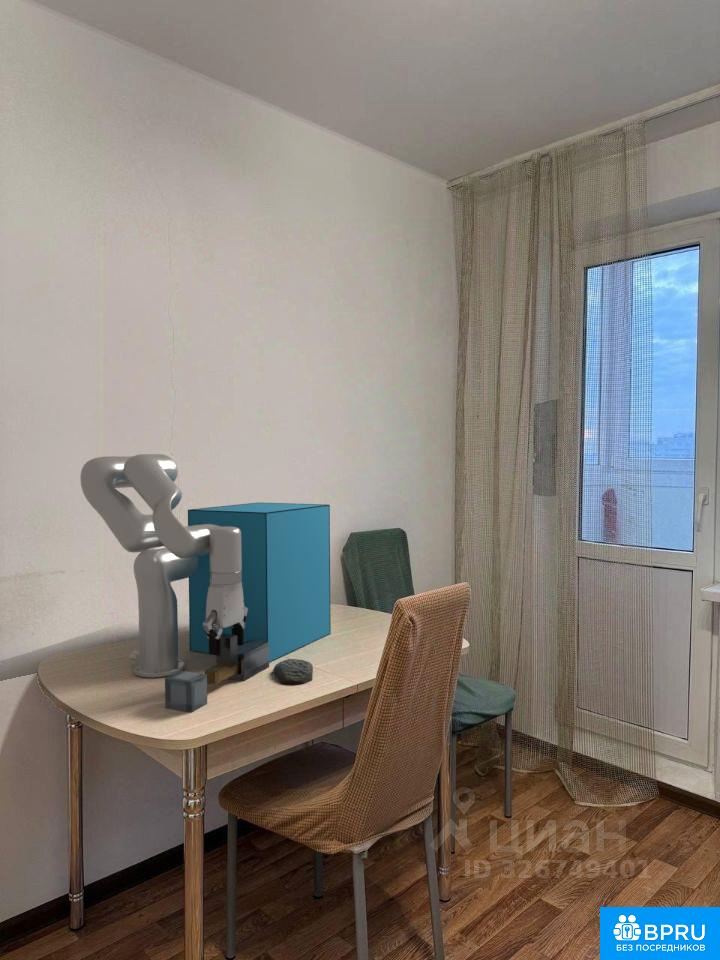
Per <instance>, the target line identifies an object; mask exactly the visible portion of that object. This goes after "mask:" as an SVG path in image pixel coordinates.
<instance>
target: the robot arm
mask: <svg viewBox="0 0 720 960" xmlns="http://www.w3.org/2000/svg"><path fill="white" fill-rule="evenodd" d="M178 473H179V469H178V466H177V464H176V462H175V461H174V459H172V458H171V457H170V456H169V455H167V454H161V453H160V454H155V453H152V454H151V453H145V454H144V453H142V454H135V455H132V456H111V455H110V456H98V457H94V458H91V459H89V460H88V461H86V462H85V464H83V466H82V468H81V470H80V486H81V491H82V492H83V495H84V497H85V499H86V501H87V502H88V503H89V504H90V506H91V507H92V508H93V509H94V510H95V511H96V513H98V515H99V516H100V517H101V518H102V520H103V521H104V523H105V524H106V525H107V527H108V529H109V530H110V531H111V533H112V534H113V535H114V537H115V539H116V540H117V541H118V543H119V544H120V546H121V547H122V548H123V549H124V550H126V551H127V552H129V553H139V554H138V555H137V556H136V557H135V559H134V561H133V574H134V579H135V583H136V589H137V600H138V601H137V602H138V650H132V651H131V653H130V655H129V656H128V659H129V661H135V662H136V663H135V665H134V666H133V667H132V668H133V669H132V673H133V674H134V675H135V676H138V677H141V678H163V677H169V676H171V675H173V674H175V673H177V672H179V671H184V669H185V666H186V665H185V662H184V661H182V660H180V659H179V630H178V629H179V628H178V627H179V626H178V625H179V621H178V619H179V618H178V617H179V616H178V598H177V594H176V592H175V591H174V588H173V587H172V584H171V583H174V582H176V581H180V580H181V581H182V580H185V579H189V577H190V576H192V575H193V574H194V573H195V572H196V570H197V568H198V557H197V556H203V555H208V554H210V586H209V589H208V594H207V604H206V620H205V621H204V623H203V627H204V629H205V633H206V635H207V638H209V654H208V655H210V656H220V655H222V640H221V638H220V635H221V633H222V630H223V629H224V628H227V627H230V626H232V625H233V627H234V628H232V635H237V645H244V629H243V628H245V621H246V616H247V612H248V608H247V607H245V606H244V597H243V588H242V544H241V531H240V529H239V528H237V527H231V526H224V527H221V526H217V525H213V524H203V525H194V526H188V525H186V526H184V525H183V524H182V523H181V522H180V521H179V519H178V518H177V517H176V515H174V513H173V510H174V509H176V508H177V506H178V505H179V504H180V502H181V500H182V497H183V492H182V490H181V489H180V487H179V486H178V485H177V484H176V483H175V481H176V480H177V477H178ZM120 488H121V489H123V488H133V489H134V490H135V491H136V493H137V494H138V495H139V496H140V498H141V499H142V500H143V501H144V502H145V503H146V504H147V506H148V507H149V508H150V509H151V510H152V514H144V513H142V512H141V511H140V510H139V509H138V508H137V507H136V506H135V504H134V502H133V501H132V500H131V498H129V497H128V496H126V495H125V494H124V493H122V492H121V491H119V490H118V489H120ZM214 629H218V630H217V632H215V631H214Z"/></svg>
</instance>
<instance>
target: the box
mask: <svg viewBox="0 0 720 960" xmlns="http://www.w3.org/2000/svg"><path fill="white" fill-rule="evenodd" d="M330 511H331V510H330V504H323V503H322V504H321V503H319V504H317V503H313V504H312V503H290V502H289V503H286V502H285V503H283V502H250V503H241V504H230V505H221V506H219V505H218V506H213V507H211V506H210V507H200V508H193V509H187V526H194V525H203V524H213V525H217V526H221V527H224V526H231V527H237V528H239V529H240V531H241V544H242V588H243V597H244V606H245V607H247V608H248V612H247V616H246V621H245V628H243V629H244V643H245V642H247V641H249V640H256V641H265V642H269V664H270V663H272V662H274V661H277V660H278V659H281V658H283V657H285V656H287V655H290V654H291V653H293V652H296V651H297V650H300V649H302V648H304V647H306V646H309V645H310V644H313V643H315V642H317V641H319V640H321V639H323V638H326V637H327V636H329V635H331V634H332V633H331V632H332V631H331V626H332V625H331V537H330V536H331V528H330V527H331V526H330V525H331V523H330V521H331V519H330V518H331V517H330V516H331V515H330V514H331V512H330ZM197 557H198V568H197V570H196V572H195V573H194V574H193V575H192V576H190V577H188V615H189V618H188V619H189V621H188V622H189V626H188V628H189V629H188V630H189V651H190V652H194V653H198V654H199V653H200V654H207V655H210V654H209V638H207V635H206V633H205V629H204V627H203V623H204V621H205V620H206V604H207V594H208V589H209V586H210V554H208V555H203V556H197ZM232 628H234V627H233V625H232V626H230V627H227V628H224V629H223V630H222V633H221V634H230V635H232ZM217 630H218V629H214V631H215V632H217ZM237 646H238V645H237Z"/></svg>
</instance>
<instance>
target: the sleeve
mask: <svg viewBox="0 0 720 960" xmlns="http://www.w3.org/2000/svg"><path fill="white" fill-rule="evenodd" d="M237 653H238V658H241V671H240V672H238V673H236V674H234V675H232V676H230V677H228V678H226V679H227V680H228V679H229V680H234V681H243V682H245V681H247V680H248V679H250V678H252V677H254V676H256V675H257V674H259V673H261V672H263V671H264V670H266V669H268V668H270V663H269V642H265V641H256V640H249V641H247V642H245V643H244V645H238V646H237Z"/></svg>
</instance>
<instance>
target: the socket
mask: <svg viewBox="0 0 720 960" xmlns="http://www.w3.org/2000/svg"><path fill="white" fill-rule="evenodd" d="M164 699H165V700H164V701H165V702H164V703H165V705H164V708H165V709H171V710H175V711H182V712H186V713H187V712H188V713H193V712H195V711H197V710H198V709H201V708H202V707H204V706H206V705H207V704H208V684H207V674H205V673H199V672H191V671H185V670H182V671H179V672H177V673H175V674H173V675H169V676H165V678H164Z"/></svg>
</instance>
